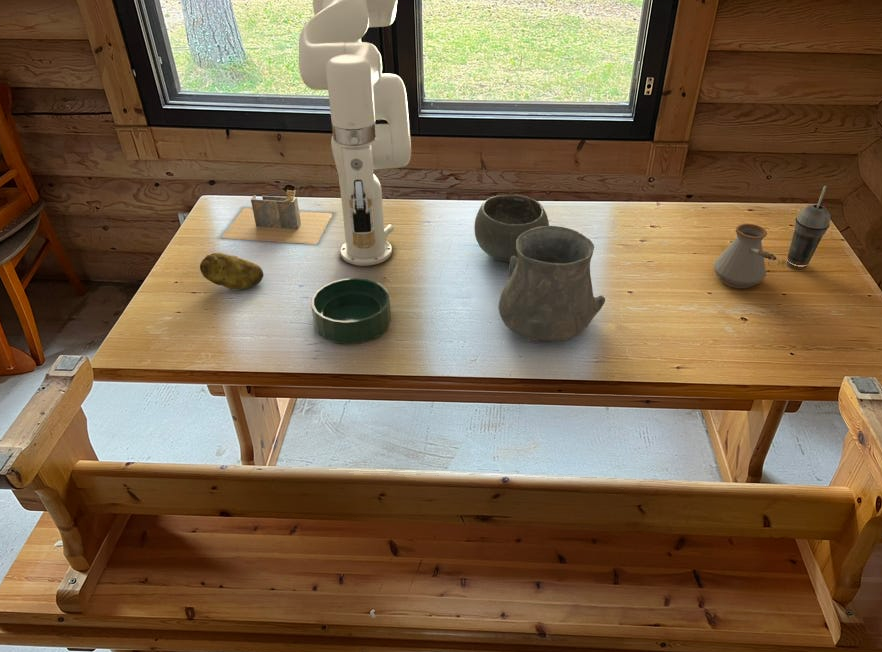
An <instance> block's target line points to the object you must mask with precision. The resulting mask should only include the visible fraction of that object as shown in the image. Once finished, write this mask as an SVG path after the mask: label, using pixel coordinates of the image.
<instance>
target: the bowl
mask: <svg viewBox="0 0 882 652" xmlns="http://www.w3.org/2000/svg"><path fill="white" fill-rule="evenodd" d="M474 219H475V220H474V228H473V229H474V236H475V239H476V242H477V244H478V246H479V248H480V249H481V250H482V251H483V252H484V253H485V254H487V255H488V256H489V257H491V258H492V259H495V260H497V261H500V262H504V263H510V259H511V257H512V256H516V258H517V259H518V255H517V250H516V240H517V239H518V237H519V236H520V235H521V234H522V233H524V232H525V231H527V230H530V229H532V228H536V227H540V226H550V222H549V218H548V215H547V212H546V210H545V208H544V206H543V205H542V204H541V203H540V202H539V201H538V200H536V199H534V198H532V197H528V196H525V195H524V196H523V195H520V194H504V195H502V194H499V195H496V196H491V197H489V198H487V199H486V200H485V201H484V202H483V203H482V204H481V206H480V207H479V209H478V210H477V214H476V216H475V218H474Z"/></svg>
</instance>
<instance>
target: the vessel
mask: <svg viewBox="0 0 882 652" xmlns="http://www.w3.org/2000/svg"><path fill="white" fill-rule="evenodd" d="M516 250H517V255H518V259H517V258H516V256H512V257H511V259H510V262H509V265H508V266H509V267H508V281H507V282H506V284H505V286H504V287H503V289H502V290H501V292H500V296H499V300H498V301H499V302H498V312H499V316H500V318H501V321H502V322H503V324H504V325H505V326H506V327H507V328H508V330H509V331H510V332H512V334H515V335H517V336H519V337H522V338H525V339H527V340H528V339H529V340H533V341H539V342H553V343H555V342H562V341H566V340H570V339H572V338H575V337H577V336H579V335H581V334H582V333H583V332H584V331H585V330H586V329H587V328H588V326H589V325H590V324H591V323H592V321H593V319H594V318H595V316H596V315H597V314H598V313H599V312H600V310H601V309H602V307H603V306H604V304H606V303H605V302H606V298H605V297H604V295H598V296H594V290H593V283H592V282H593V281H592V277H591V276H592V275H591V261H592V257H593V254H594V251H595V245H594V243H593V241H592V240H591V239H590V238H588V237H587V236H586V235H584V234H582V233H581V232H579V231H577V230H575V229H572V228H568V227H564V226H558V225H549V226H540V227H536V228H532V229H530V230H527V231H525V232H524V233H522V234H521V235H520V236H519V237H518V239H517V240H516Z"/></svg>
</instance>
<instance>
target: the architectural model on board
mask: <svg viewBox="0 0 882 652" xmlns="http://www.w3.org/2000/svg"><path fill="white" fill-rule="evenodd" d="M285 193H286V196H273V195H262V197H261V198H262V199H257V197H256V196H257V195H256V194H254V195H253V196H252V197H251V198H250V203H251V208H250V207H249V208H248V207H243V209H242V210H240V212H239V214H237V216H236V218H235V219H234V220H233V222H232V223H231V224H230V225H229V227H228V228H227V229H226V231H225V232H224V233H223V235H222V237H221V239H232V240H246V241H262V242H276V243H277V242H278V243H292V244H305V245H306V244H307V245H318V243H319V240H320V239H321V237H322V235H323V233H324V231H325V230H326V228H327V226H328V224H329V222H330V221H331V219H332V216H333V215H334V214H333V213H330V212H317V211H316V212H314V211H300V208H299V202H298V201H299V200H298V197H295V195H296V190H289V189H287V190H286V191H285Z"/></svg>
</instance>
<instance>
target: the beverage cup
mask: <svg viewBox="0 0 882 652" xmlns="http://www.w3.org/2000/svg"><path fill="white" fill-rule="evenodd" d="M826 190H827V185H823V188H822V191H821V193H820V196H819V198H818V201H817V204H816V203H815V204H814V203H813V204H809V205H807V206H805V207H803V208H802V209H801V210H800V211H799V212H798V213H797V214H798V215H797V216H796V217H795V219H794V221H795V222H794V230H793V235H792V238H791V241H790V245H789V250H788V254H787V257H786V258H787V259H788V261H789V262H791V263H793V264H796V265H807V264H808V265H809V264H810V262H811V260H812V258H813V256H814V253H815V252H816V250H817V248H818V246H819V244H820V242H821V240H822V238H823V236H824V235H825V234H826V233H827V231H828V229H829V228H830V226H831V225H830V224H831V215H830V212H829V210H828V209H827V208H826V206H824V205H821V203H822V201H823V197H824V195H825V192H826ZM787 259H786V262H785V264H786V266H787V267H788V268H789V269H792V270H795V271H803V270H805V269H807V266H808V265H807V266H804V267H798V266H794V265H792V264H790V263H789V262H788V261H787Z"/></svg>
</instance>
